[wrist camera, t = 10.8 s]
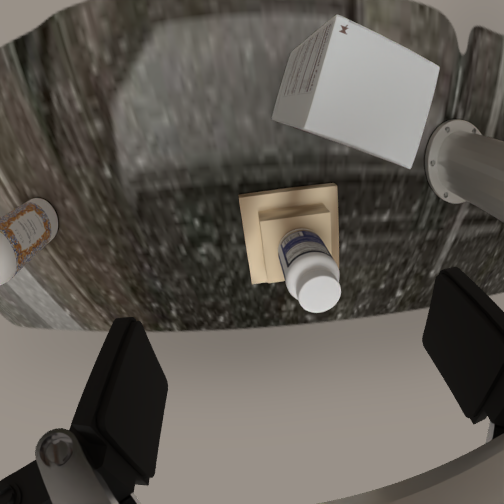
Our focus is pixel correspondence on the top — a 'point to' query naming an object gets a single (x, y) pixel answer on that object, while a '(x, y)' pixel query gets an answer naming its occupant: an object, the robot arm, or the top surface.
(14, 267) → the bath foam
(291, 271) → the pill bottle
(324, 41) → the supplement box
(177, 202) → the top surface
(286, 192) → the plinth
